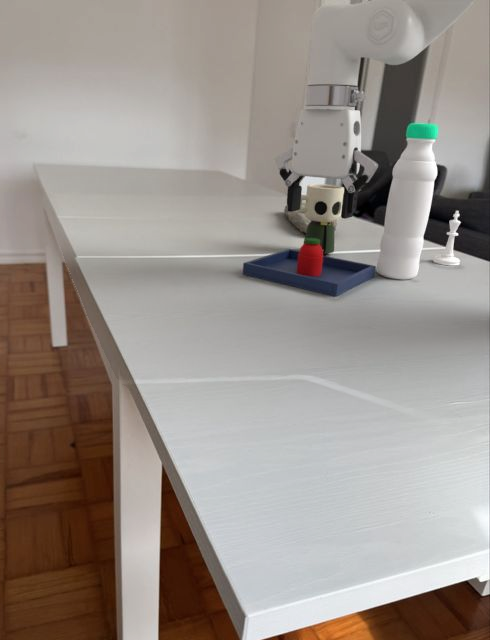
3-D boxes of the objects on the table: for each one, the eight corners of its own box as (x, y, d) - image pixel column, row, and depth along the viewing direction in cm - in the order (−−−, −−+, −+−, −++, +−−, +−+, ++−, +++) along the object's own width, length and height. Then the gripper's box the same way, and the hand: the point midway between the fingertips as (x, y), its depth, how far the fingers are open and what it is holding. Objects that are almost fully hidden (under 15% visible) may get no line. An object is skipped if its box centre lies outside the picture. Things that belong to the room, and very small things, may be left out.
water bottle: (393, 282, 93) (422, 123, 83) (367, 271, 99) (391, 121, 89) (425, 278, 96) (457, 125, 86) (397, 268, 102) (424, 123, 92)
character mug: (297, 256, 107) (304, 188, 102) (287, 248, 113) (293, 183, 108) (350, 257, 109) (359, 189, 104) (337, 248, 115) (345, 184, 110)
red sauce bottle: (325, 272, 95) (329, 239, 93) (314, 277, 92) (318, 243, 90) (303, 268, 97) (307, 235, 95) (292, 272, 94) (295, 239, 92)
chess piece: (428, 261, 108) (438, 210, 104) (440, 258, 111) (450, 208, 107) (452, 267, 105) (464, 214, 101) (463, 263, 108) (475, 211, 104)
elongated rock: (312, 218, 156) (277, 218, 156) (313, 198, 154) (277, 199, 154) (345, 237, 123) (301, 238, 123) (346, 213, 121) (302, 214, 121)
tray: (374, 277, 96) (376, 266, 95) (335, 296, 84) (337, 284, 84) (287, 258, 105) (288, 248, 104) (242, 274, 94) (243, 262, 93)
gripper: (394, 101, 82) (378, 217, 88) (292, 101, 91) (285, 206, 98) (375, 99, 76) (359, 223, 83) (269, 99, 86) (262, 210, 92)
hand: (319, 214), depth 90 cm, fingers open, 9 cm apart
